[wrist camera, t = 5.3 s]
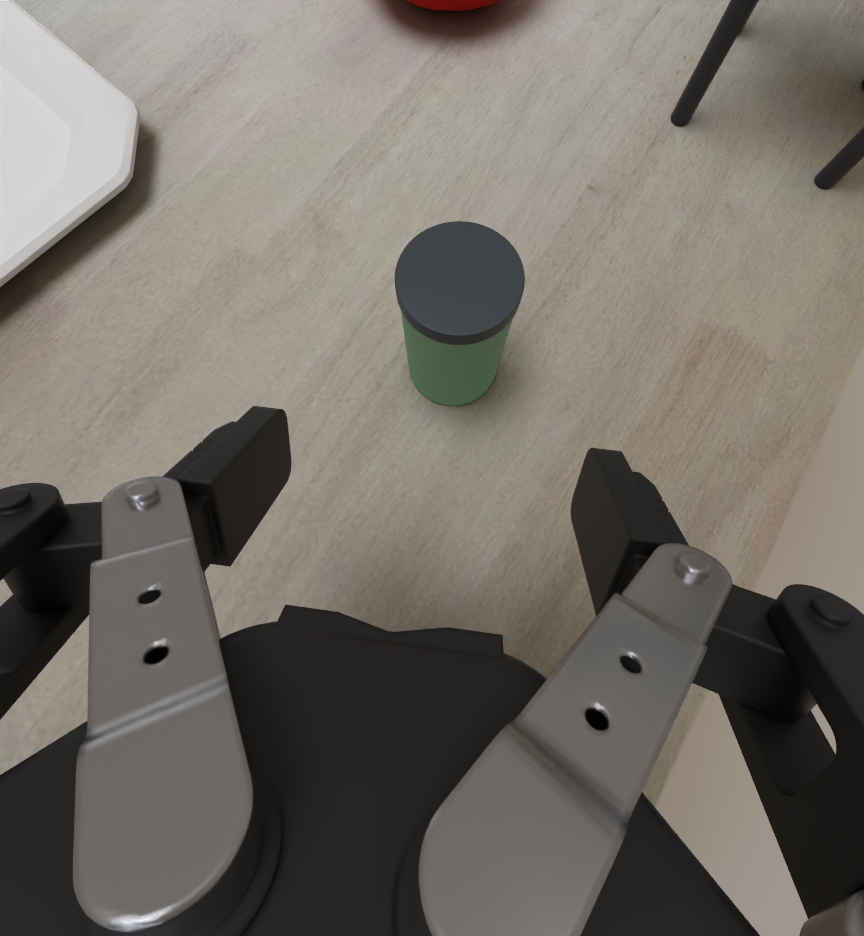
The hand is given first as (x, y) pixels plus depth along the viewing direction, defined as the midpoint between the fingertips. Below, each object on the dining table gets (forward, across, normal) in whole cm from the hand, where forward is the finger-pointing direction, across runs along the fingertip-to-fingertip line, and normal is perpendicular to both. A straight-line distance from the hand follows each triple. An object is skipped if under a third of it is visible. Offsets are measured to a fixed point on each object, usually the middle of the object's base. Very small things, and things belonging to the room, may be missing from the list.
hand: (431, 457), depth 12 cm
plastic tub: (+15, 0, +2) cm, 15 cm away
